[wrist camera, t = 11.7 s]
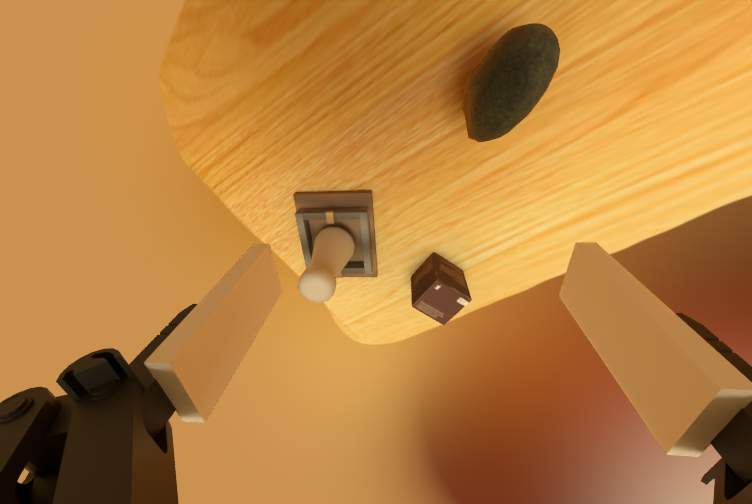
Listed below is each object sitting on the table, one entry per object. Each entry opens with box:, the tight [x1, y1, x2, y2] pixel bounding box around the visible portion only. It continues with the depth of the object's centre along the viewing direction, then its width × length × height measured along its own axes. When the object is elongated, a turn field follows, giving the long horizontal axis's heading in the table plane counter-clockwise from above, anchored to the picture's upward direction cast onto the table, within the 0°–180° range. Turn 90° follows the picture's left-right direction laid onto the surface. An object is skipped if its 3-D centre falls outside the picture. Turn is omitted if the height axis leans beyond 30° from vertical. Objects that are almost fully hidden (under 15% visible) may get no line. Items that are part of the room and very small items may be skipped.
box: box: [411, 253, 472, 325], centre depth 44 cm, size 6×6×7 cm
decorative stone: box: [462, 24, 560, 142], centre depth 28 cm, size 10×6×15 cm, turn 154°
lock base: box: [293, 191, 377, 278], centre depth 44 cm, size 14×11×4 cm
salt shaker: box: [298, 226, 355, 303], centre depth 39 cm, size 6×6×13 cm
